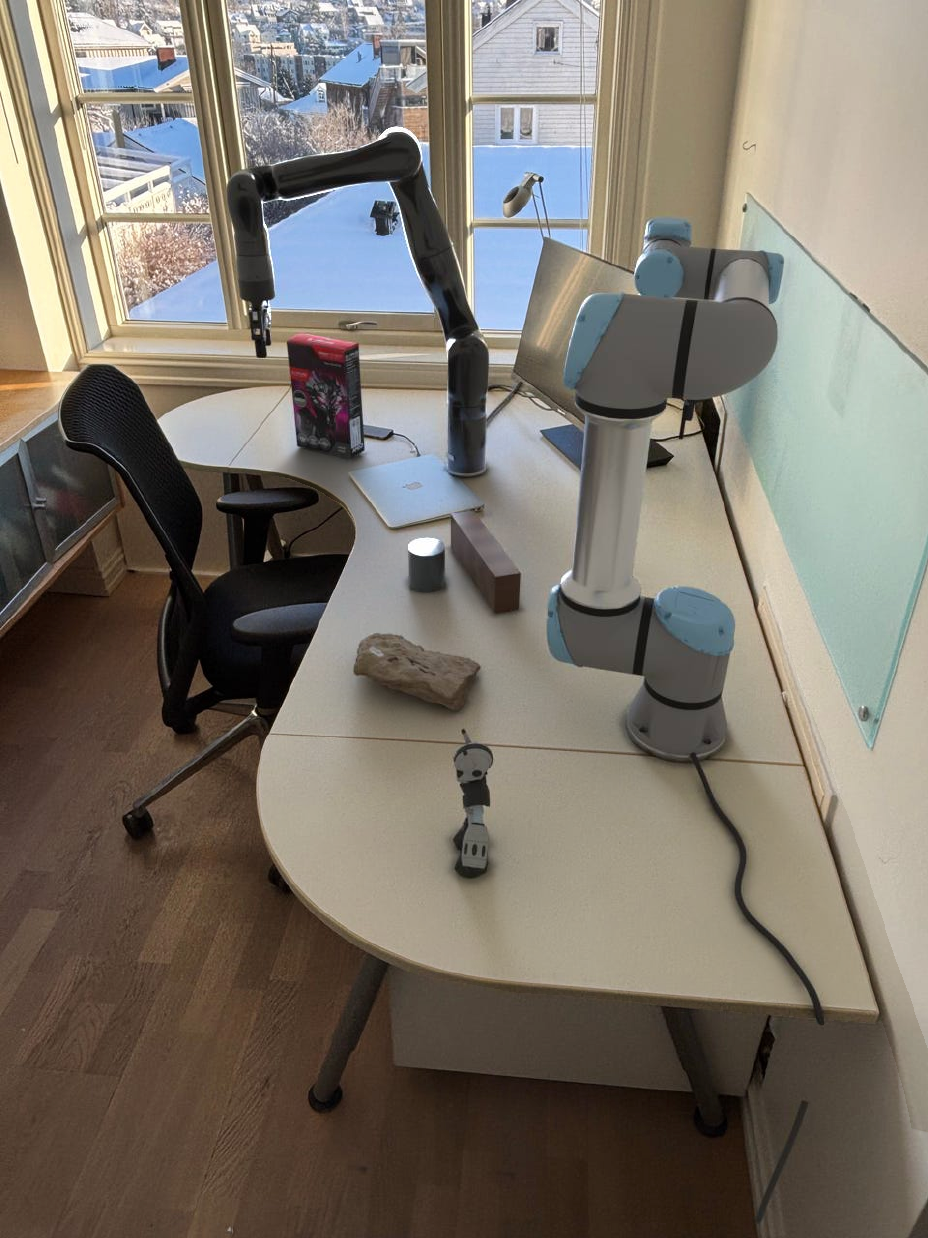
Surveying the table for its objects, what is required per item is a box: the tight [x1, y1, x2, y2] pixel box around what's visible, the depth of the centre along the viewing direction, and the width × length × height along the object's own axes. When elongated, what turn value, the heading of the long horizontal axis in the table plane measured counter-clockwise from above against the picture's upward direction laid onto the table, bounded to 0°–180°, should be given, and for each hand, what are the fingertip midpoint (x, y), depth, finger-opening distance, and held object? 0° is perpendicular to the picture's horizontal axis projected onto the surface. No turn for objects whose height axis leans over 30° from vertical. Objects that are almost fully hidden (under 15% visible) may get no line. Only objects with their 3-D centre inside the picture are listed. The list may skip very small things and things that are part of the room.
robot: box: [452, 728, 494, 879], centre depth 116 cm, size 20×5×20 cm, turn 3°
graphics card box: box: [286, 332, 366, 459], centre depth 224 cm, size 17×7×27 cm, turn 62°
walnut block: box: [450, 510, 522, 615], centre depth 179 cm, size 26×5×8 cm, turn 19°
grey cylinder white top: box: [407, 537, 446, 593], centre depth 177 cm, size 7×7×8 cm
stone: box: [352, 632, 482, 712], centre depth 151 cm, size 21×15×6 cm
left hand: (264, 351), depth 203 cm, fingers open, 8 cm apart
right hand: (643, 432), depth 170 cm, fingers open, 13 cm apart
